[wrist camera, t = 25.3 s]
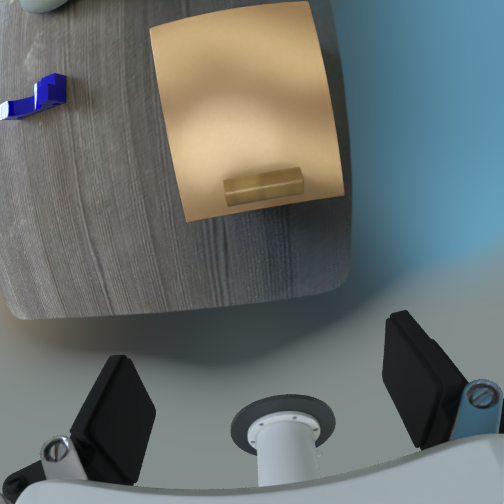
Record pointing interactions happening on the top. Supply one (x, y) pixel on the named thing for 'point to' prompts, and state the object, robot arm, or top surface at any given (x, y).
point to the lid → (247, 109)
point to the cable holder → (37, 99)
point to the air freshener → (41, 5)
